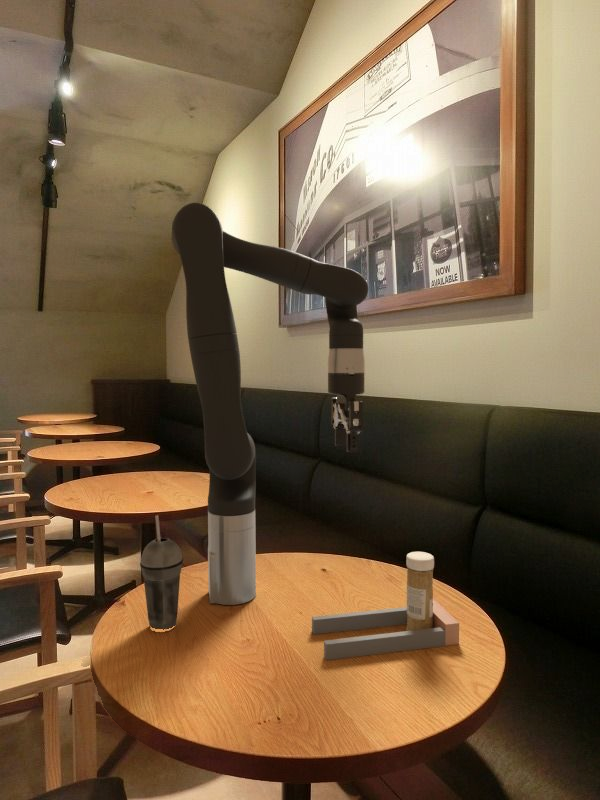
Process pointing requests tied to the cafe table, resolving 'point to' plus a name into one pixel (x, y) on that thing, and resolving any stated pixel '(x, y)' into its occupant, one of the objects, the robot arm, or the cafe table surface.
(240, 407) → the robot arm
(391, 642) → the guide channel
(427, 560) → the sprinkles bottle
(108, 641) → the cafe table surface
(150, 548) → the beverage cup
